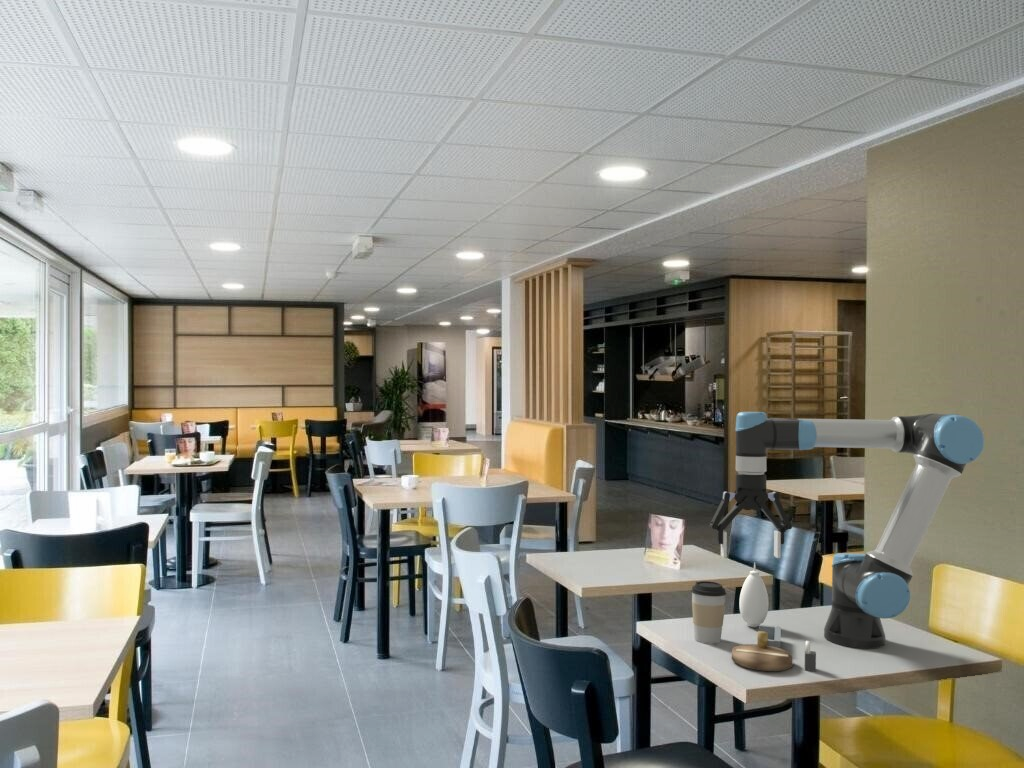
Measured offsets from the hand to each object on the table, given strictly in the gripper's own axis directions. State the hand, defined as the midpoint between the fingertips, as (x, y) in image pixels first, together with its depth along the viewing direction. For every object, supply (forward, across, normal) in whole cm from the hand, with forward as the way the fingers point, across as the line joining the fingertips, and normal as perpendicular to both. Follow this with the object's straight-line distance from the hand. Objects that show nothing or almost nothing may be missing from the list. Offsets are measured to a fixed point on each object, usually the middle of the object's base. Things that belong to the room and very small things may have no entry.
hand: (750, 557), depth 211 cm
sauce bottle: (+24, -8, -23) cm, 34 cm away
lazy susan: (+24, 0, +9) cm, 26 cm away
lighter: (+24, -10, +13) cm, 29 cm away
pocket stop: (+24, -6, -5) cm, 25 cm away
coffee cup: (+24, +8, -10) cm, 27 cm away
